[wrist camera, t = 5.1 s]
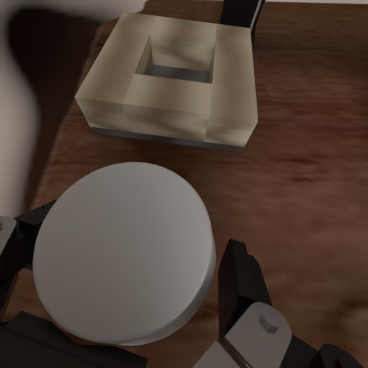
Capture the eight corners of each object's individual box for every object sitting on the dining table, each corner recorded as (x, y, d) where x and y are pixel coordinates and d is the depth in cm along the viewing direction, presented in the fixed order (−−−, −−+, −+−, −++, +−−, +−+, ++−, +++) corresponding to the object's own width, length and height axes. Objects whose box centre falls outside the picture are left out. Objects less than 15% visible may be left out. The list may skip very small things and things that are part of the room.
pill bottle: (103, 303, 13) (-83, 366, 4) (128, 219, 16) (61, 128, 6) (189, 318, 13) (238, 424, 4) (199, 231, 16) (241, 157, 6)
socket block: (238, 64, 28) (250, 28, 24) (241, 152, 20) (258, 121, 16) (130, 50, 28) (123, 11, 24) (93, 133, 20) (74, 97, 16)
